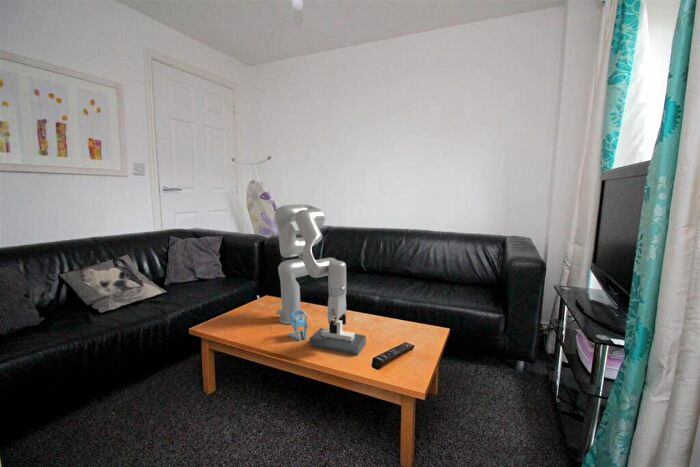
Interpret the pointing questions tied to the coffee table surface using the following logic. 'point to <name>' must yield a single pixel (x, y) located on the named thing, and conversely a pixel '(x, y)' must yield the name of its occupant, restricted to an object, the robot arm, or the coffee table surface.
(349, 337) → the white stepped block
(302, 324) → the chair
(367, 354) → the coffee table surface
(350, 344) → the slotted plate
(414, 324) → the coffee table surface
